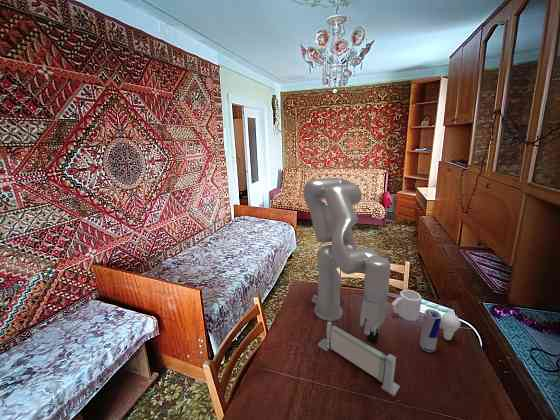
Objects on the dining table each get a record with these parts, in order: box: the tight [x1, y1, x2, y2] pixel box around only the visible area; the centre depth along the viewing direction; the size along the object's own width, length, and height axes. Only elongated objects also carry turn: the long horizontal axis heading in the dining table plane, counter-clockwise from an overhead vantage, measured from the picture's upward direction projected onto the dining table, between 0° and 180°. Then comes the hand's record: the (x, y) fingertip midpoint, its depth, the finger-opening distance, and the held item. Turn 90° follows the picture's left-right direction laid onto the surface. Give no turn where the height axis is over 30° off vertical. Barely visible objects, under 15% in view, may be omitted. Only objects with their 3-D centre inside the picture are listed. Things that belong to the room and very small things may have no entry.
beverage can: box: [419, 308, 442, 353], centre depth 93 cm, size 5×5×15 cm
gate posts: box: [317, 321, 401, 397], centre depth 87 cm, size 28×4×11 cm, turn 45°
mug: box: [391, 289, 423, 322], centre depth 111 cm, size 12×9×10 cm
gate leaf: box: [330, 325, 388, 384], centre depth 87 cm, size 20×2×9 cm, turn 45°
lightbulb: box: [440, 312, 461, 341], centre depth 97 cm, size 6×6×11 cm
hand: (372, 341), depth 88 cm, fingers closed
